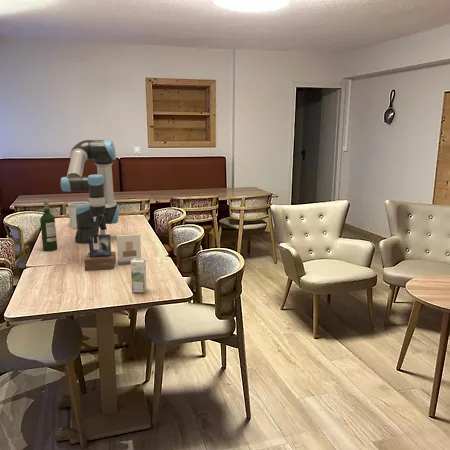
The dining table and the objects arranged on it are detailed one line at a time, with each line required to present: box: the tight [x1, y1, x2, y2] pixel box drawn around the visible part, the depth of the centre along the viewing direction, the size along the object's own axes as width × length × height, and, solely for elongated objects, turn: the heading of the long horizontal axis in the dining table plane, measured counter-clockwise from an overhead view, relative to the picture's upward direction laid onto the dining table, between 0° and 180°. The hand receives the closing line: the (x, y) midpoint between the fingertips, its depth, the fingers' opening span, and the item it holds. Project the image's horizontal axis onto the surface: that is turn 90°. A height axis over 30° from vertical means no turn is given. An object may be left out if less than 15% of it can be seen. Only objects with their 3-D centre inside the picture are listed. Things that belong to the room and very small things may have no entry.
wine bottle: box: [39, 198, 58, 252], centre depth 257 cm, size 8×8×30 cm
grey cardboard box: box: [116, 233, 142, 266], centre depth 234 cm, size 6×12×15 cm, turn 107°
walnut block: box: [84, 251, 117, 272], centre depth 229 cm, size 14×14×6 cm
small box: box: [88, 234, 112, 257], centre depth 228 cm, size 11×6×10 cm, turn 101°
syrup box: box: [130, 257, 148, 294], centre depth 193 cm, size 6×6×14 cm
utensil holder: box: [67, 201, 90, 229], centre depth 320 cm, size 15×15×18 cm
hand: (100, 245), depth 228 cm, fingers open, 13 cm apart
